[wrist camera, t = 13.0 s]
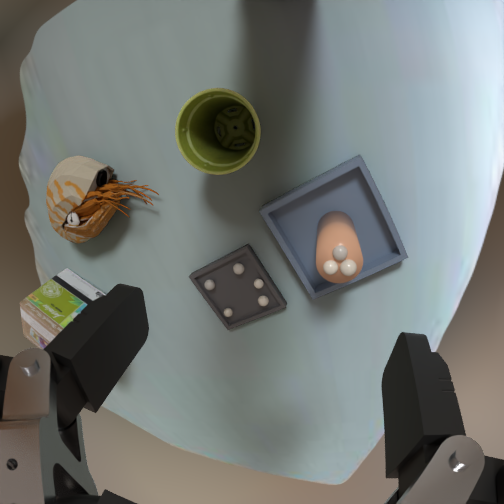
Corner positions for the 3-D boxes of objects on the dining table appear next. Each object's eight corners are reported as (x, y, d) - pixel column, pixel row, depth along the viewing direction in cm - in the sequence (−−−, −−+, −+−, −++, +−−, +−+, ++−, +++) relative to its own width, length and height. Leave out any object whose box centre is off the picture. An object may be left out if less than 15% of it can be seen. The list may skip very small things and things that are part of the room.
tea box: (124, 302, 57) (79, 350, 44) (117, 335, 61) (79, 381, 48) (66, 265, 57) (17, 302, 44) (64, 300, 61) (22, 337, 48)
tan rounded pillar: (310, 220, 42) (307, 256, 32) (344, 204, 40) (352, 235, 30) (327, 252, 43) (328, 294, 33) (360, 237, 41) (371, 276, 31)
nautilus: (165, 152, 43) (166, 244, 51) (57, 150, 45) (66, 227, 53) (139, 165, 36) (145, 269, 44) (26, 162, 38) (40, 247, 46)
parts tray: (191, 273, 50) (186, 279, 48) (248, 243, 46) (245, 249, 44) (229, 325, 53) (226, 333, 51) (287, 302, 48) (285, 310, 47)
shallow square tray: (262, 205, 43) (259, 211, 41) (359, 154, 37) (361, 157, 35) (313, 290, 47) (312, 299, 44) (404, 249, 41) (408, 257, 39)
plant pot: (264, 84, 36) (248, 77, 28) (280, 154, 40) (269, 165, 32) (196, 103, 39) (166, 102, 31) (213, 168, 42) (187, 182, 35)
